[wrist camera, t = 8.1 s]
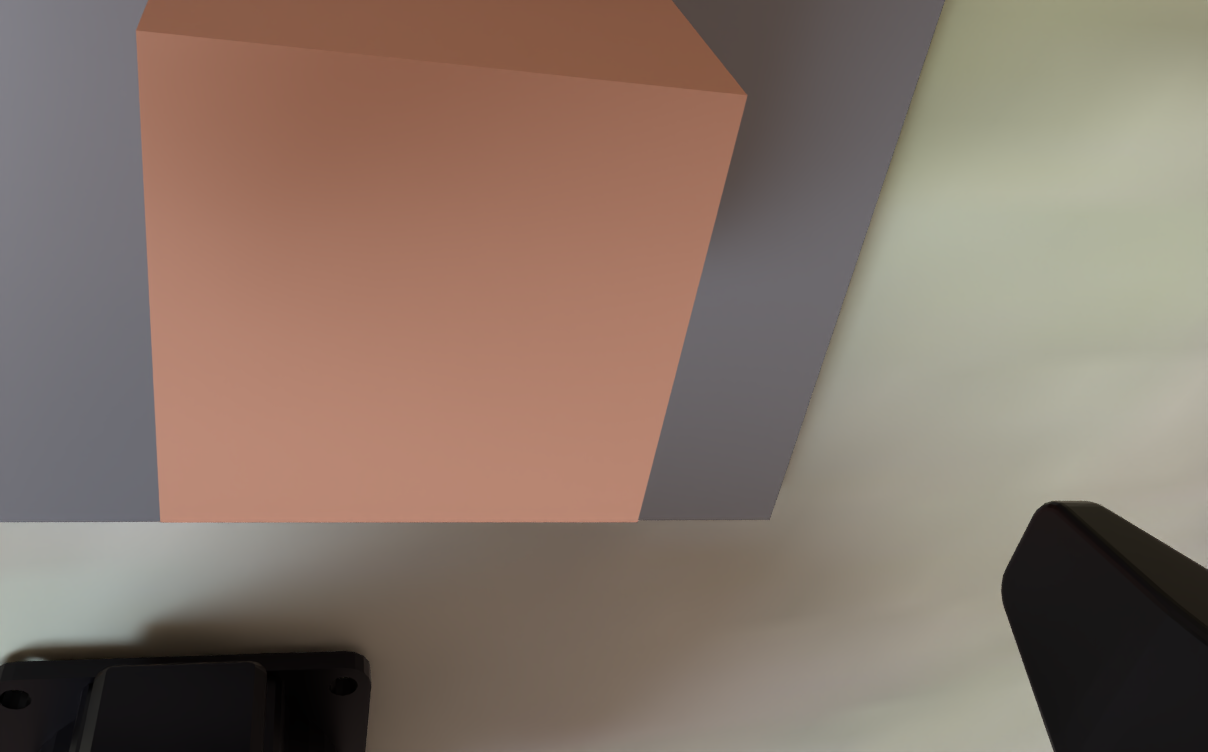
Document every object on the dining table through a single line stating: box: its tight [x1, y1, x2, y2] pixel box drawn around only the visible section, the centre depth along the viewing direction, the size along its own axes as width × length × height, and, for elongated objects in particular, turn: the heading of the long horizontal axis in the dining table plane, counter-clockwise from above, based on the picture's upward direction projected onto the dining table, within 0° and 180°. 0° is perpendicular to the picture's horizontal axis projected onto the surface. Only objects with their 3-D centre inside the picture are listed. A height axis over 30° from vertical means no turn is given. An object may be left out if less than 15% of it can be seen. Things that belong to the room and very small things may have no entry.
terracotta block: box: [136, 0, 748, 522], centre depth 13 cm, size 5×5×5 cm
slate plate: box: [0, 0, 945, 522], centre depth 15 cm, size 14×14×1 cm
